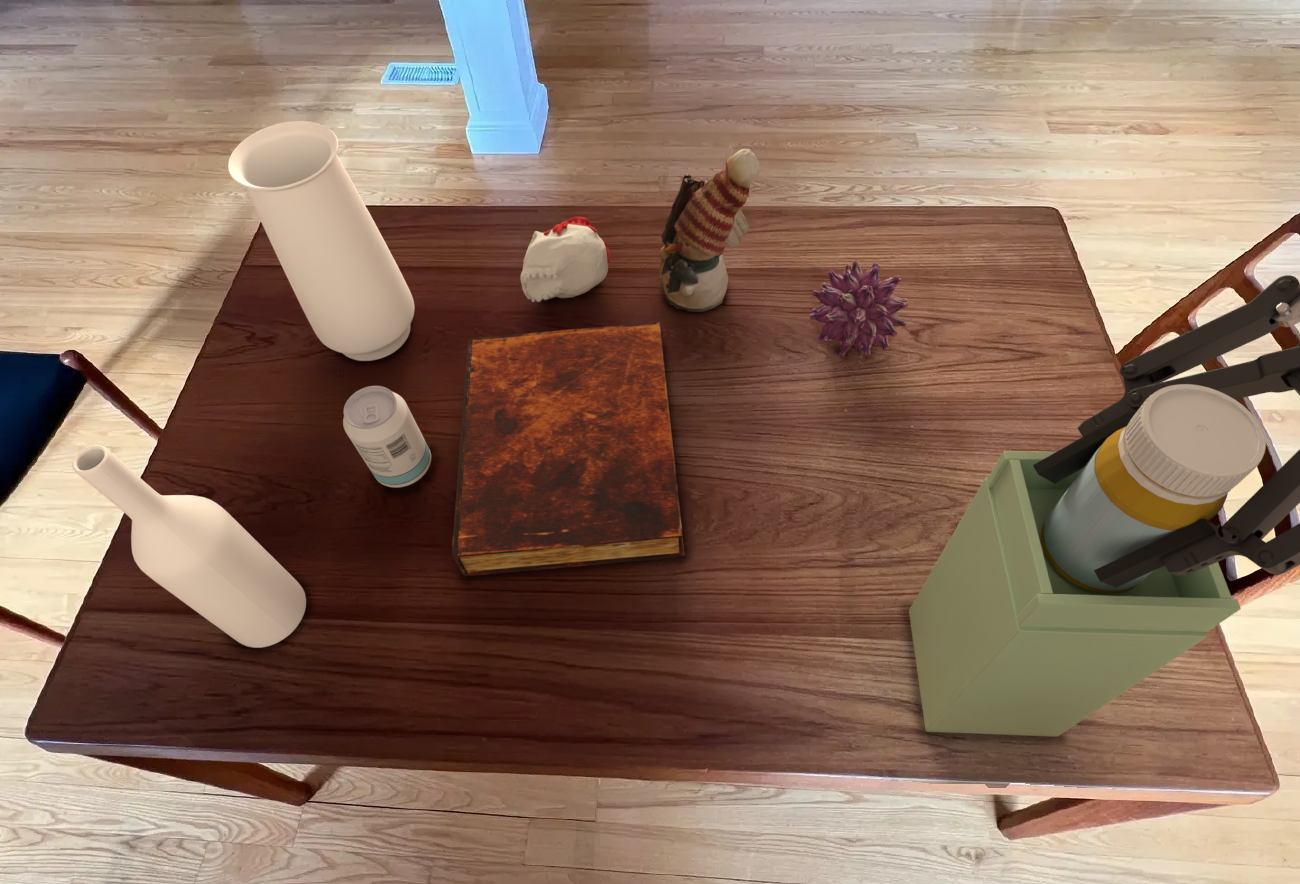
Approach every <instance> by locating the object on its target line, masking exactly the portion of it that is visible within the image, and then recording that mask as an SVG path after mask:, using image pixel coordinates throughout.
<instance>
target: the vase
mask: <svg viewBox="0 0 1300 884" xmlns="http://www.w3.org/2000/svg"><path fill="white" fill-rule="evenodd" d="M339 146H340V145H339V139H338V137H337V135H336V134H335V132H334V131H333V130H332V129H330V128H329V127H327V125H324V124H322V123H318V122H315V121H309V120H290V121H285V122H279V123H275V124H271V125H268V126H266V127H264V128H262V129H260V130H259V129H258V130H257V131H255V132H253V133H251V134H250V135H249V136H247V137H246V138H244V139H243V140H242V141H241V142H239V144H237V146H236V147H235V149H233V151H232V153H231V154H230V156H229V159H228V163H227V169H228V174H229V176H230V177H231V179H232V180H233V181H234V182H235V183H236V184H238V185H239V186H241V187H244V188H245V190H246V192H247V194H248V197H249V198H250V200H251V203H252V205H253V208H254V209H255V212H256V214H257V216H258V219H259V221H260V223H261V225H262V227H263V229H264V231H265V233H266V236H267V238H268V240H269V242H270V244H271V246H272V248H273V251H274V253H275V255H276V257H277V259H278V261H279V263H280V265H281V268H282V270H283V272H284V275H285V276H286V278H287V280H288V282H289V285H290V286H291V289H292V290H293V292H294V296H295V297H296V299H297V301H298V303H299V305H300V307H301V309H302V311H303V313H304V315H305V317H306V320H307V321H308V323H309V324H310V326H311V328H312V330H313V332H314V333H315V335H316V337H317V338H318V339H319V342H321V343H322V344H323V345H324V346H326V347H327V348H328V349H330V350H331V351H335V352H337V353H341V354H342V355H344V356H345V357H347V358H349V359H352V360H354V361H358V362H370V361H376V360H380V359H383V358H385V357H388V356H390V355H392V354H393V353H395V352H396V351H398V350H399V349H400V348H401V347H402V346H403V345H404V344H405V342H406V341H407V339H408V338H409V336H410V332H411V324H412V322H413V319H414V316H415V308H416V307H415V301H414V297H413V294H412V292H411V290H410V288H409V286H408V284H407V282H406V280H405V277H404V276H403V274H402V272H401V270H400V268H399V266H398V264H397V262H396V260H395V258H394V256H393V255H392V252H391V251H390V248H389V247H388V244H387V243H386V241H385V239H384V238H383V236H382V234H381V232H380V229H379V228H378V227H377V224H376V222H375V220H374V219H373V217H372V215H371V213H370V211H369V209H368V207H367V206H366V204H365V202H364V201H363V198H362V197H361V195H360V193H359V191H358V190H357V188H356V186H355V184H354V183H353V181H352V179H351V177H350V175H349V173H348V171H347V170H346V168H345V166H344V164H343V163H342V160H341V159H340V157H339V155H338V153H339V148H340V147H339Z"/></svg>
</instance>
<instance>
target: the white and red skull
mask: <svg viewBox="0 0 1300 884" xmlns="http://www.w3.org/2000/svg"><path fill="white" fill-rule="evenodd" d="M591 224H592V223H591V221H590V220H589V219H588V218H587V217H584V216H577V215H574V216H573V217H571V218H569V219H567V220H564V221H562V222H560V223H557V224H555V225H554V226H553V227H552V228H550V229H548V230H546V231H544V232H541V231H538V230H535V231H533V234H532V237H531V240H530V242H529V244H528V247H527V249H526V252H525V256H524V257H523V265H522V271H521V273H520V278H519V279H520V283H521V289H522V292H523V294H524V296H525V297H526V299H527V300H531V302H532V303H534V302H536V303H541V301H542V300H544V301H547V300H551V299H553V298H554V299H555V298H560V299H568V298H570V299H571V298H575V297H579V296H580V295H583V294H585V293H587V292H589V291H590V290H592V289H593V288H594V287H596V286H597V285H599V284H600V283H601V282H603V281H604V280H605V278H606V277H607V275H608V272H609V264H610V263H611V253H610V248H609V247H608V243H607V242H606V241H605V240H603V239H602V238H601V237H600V236H599V235H598V231H597V229H596V228H595V226H592V225H591Z"/></svg>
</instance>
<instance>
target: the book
mask: <svg viewBox="0 0 1300 884" xmlns="http://www.w3.org/2000/svg"><path fill="white" fill-rule="evenodd" d="M661 332H662V331H661V324H660V321H652V322H651V321H650V322H639V323H627V324H618V325H607V326H594V327H585V328H584V327H583V328H573V329H561V330H550V331H539V332H529V333H517V334H506V335H494V336H483V337H473V338H468V339H467V344H466V357H465V358H466V359H465V370H464V385H463V396H462V397H463V398H462V411H461V425H460V437H459V450H458V451H459V452H458V463H457V478H456V492H455V502H454V518H453V529H452V530H453V532H452V545H451V557H452V558H453V560H454V561H455V563H456V565H457V567H458V569H459V570H460V573H462V575H463V576H464V577H467V576H468V577H472V576H484V575H485V576H486V575H495V574H506V573H507V574H508V573H519V572H529V571H540V570H553V569H562V568H573V567H584V566H585V567H586V566H597V565H608V564H619V563H629V562H631V563H632V562H641V561H653V560H664V559H675V558H676V559H677V558H685V555H686V554H685V545H684V538H683V535H684V534H683V527H682V518H681V517H682V516H681V508H680V499H679V490H678V480H677V472H676V463H675V462H676V461H675V453H674V445H673V434H672V426H671V425H672V424H671V415H670V406H669V397H668V387H667V377H666V371H665V370H666V369H665V361H664V352H663V341H662V333H661Z"/></svg>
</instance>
